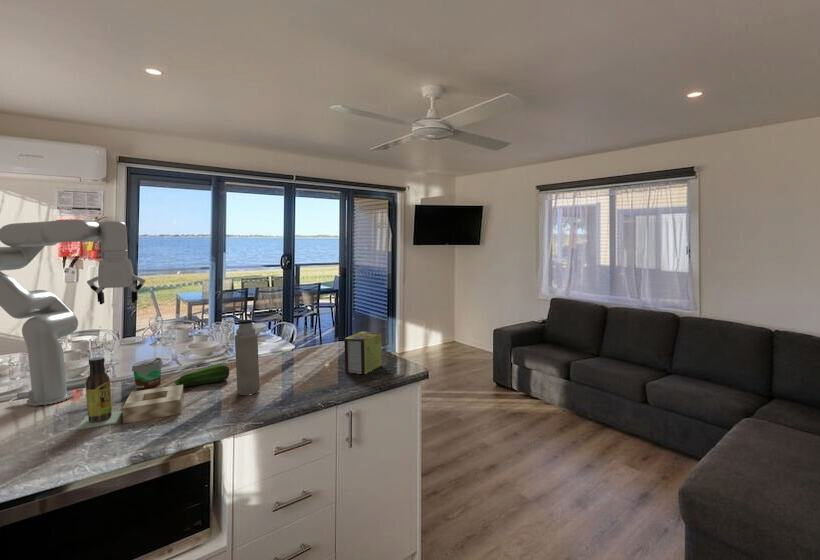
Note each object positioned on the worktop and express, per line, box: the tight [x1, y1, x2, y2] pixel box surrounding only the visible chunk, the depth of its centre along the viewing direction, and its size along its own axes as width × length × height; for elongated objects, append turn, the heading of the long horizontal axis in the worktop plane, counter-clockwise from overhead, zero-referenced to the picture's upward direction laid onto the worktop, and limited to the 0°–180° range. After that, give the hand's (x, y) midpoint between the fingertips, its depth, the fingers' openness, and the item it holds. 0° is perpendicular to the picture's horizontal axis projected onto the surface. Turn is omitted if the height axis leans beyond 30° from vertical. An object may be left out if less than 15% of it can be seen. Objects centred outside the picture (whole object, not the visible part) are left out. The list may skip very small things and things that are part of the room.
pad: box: [76, 410, 123, 431], centre depth 131 cm, size 10×10×1 cm
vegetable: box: [174, 363, 230, 388], centre depth 165 cm, size 7×7×20 cm
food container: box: [131, 357, 164, 391], centre depth 162 cm, size 12×6×10 cm, turn 168°
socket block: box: [121, 385, 185, 424], centre depth 139 cm, size 16×16×5 cm
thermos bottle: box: [234, 319, 261, 396], centre depth 154 cm, size 8×8×28 cm
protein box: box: [343, 331, 382, 375], centre depth 182 cm, size 10×15×16 cm
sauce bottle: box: [85, 356, 113, 422], centre depth 130 cm, size 6×6×20 cm
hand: (118, 303), depth 147 cm, fingers open, 9 cm apart
